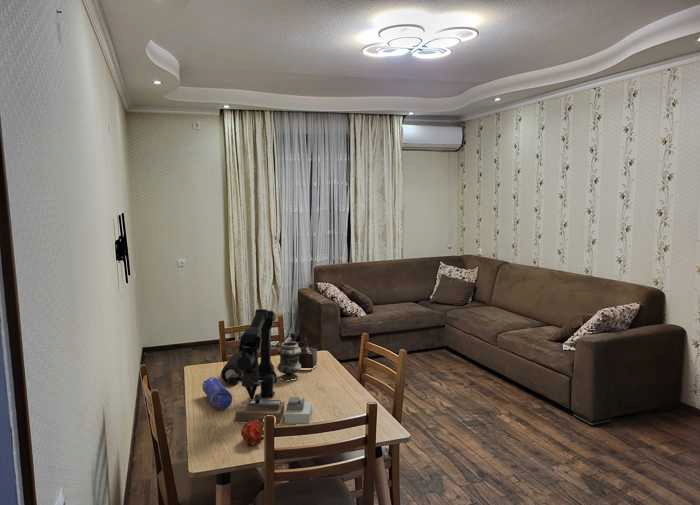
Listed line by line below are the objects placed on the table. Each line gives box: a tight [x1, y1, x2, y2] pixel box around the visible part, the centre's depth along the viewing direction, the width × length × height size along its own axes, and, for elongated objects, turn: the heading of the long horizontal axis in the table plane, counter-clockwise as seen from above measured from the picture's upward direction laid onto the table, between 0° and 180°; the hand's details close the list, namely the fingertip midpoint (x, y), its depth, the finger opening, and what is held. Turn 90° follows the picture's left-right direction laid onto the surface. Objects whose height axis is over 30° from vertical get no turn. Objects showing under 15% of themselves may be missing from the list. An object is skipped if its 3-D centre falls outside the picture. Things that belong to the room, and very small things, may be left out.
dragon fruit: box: [240, 420, 265, 447], centre depth 189 cm, size 8×8×12 cm
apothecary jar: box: [277, 341, 301, 381], centre depth 259 cm, size 12×12×18 cm
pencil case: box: [201, 376, 233, 411], centre depth 227 cm, size 22×9×10 cm, turn 28°
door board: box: [234, 399, 285, 424], centre depth 212 cm, size 12×18×6 cm, turn 88°
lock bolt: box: [251, 393, 280, 407], centre depth 212 cm, size 12×2×5 cm, turn 88°
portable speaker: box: [220, 351, 244, 384], centre depth 261 cm, size 26×10×10 cm, turn 1°
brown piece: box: [289, 331, 318, 368], centre depth 277 cm, size 16×11×18 cm
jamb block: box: [283, 396, 313, 424], centre depth 212 cm, size 12×10×8 cm
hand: (251, 399), depth 212 cm, fingers closed
